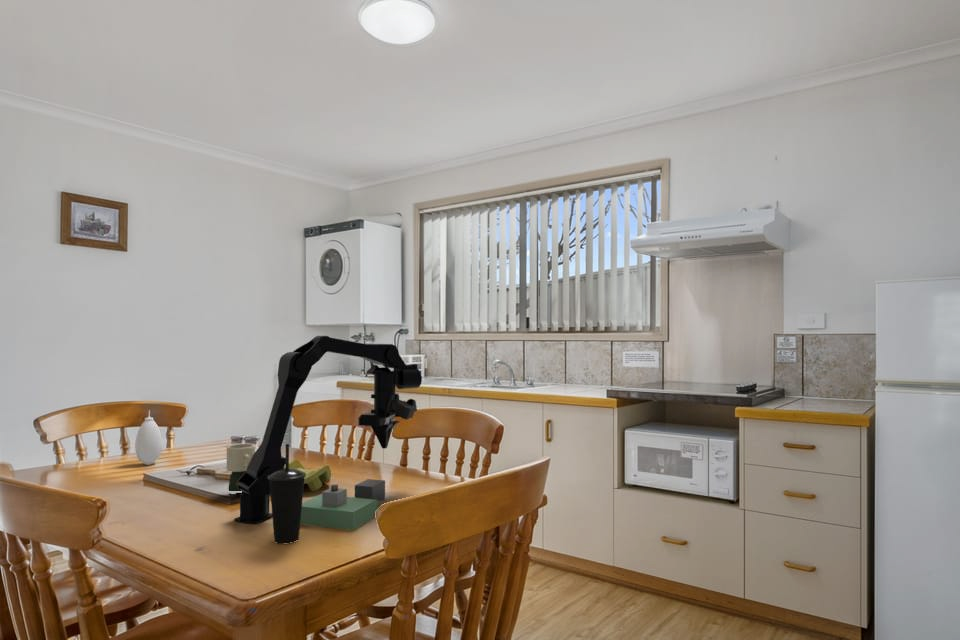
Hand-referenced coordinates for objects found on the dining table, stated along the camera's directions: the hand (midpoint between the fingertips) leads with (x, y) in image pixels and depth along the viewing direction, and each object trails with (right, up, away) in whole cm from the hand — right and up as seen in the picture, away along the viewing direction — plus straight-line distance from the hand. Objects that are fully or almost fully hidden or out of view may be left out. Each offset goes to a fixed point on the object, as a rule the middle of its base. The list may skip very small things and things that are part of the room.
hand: (384, 448), depth 165 cm
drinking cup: (-15, -12, -37) cm, 42 cm away
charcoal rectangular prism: (-2, -12, -8) cm, 15 cm away
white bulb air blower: (-83, -13, +36) cm, 92 cm away
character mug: (-39, -12, -1) cm, 41 cm away
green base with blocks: (-6, -12, -20) cm, 24 cm away
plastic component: (-24, -13, +8) cm, 28 cm away
